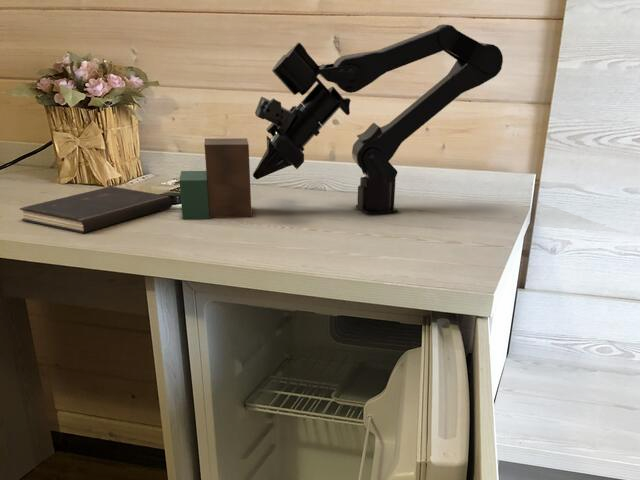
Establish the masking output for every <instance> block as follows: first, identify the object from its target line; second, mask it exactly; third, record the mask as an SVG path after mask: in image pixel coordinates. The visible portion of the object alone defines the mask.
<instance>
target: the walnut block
mask: <svg viewBox="0 0 640 480" xmlns="http://www.w3.org/2000/svg"><path fill="white" fill-rule="evenodd" d="M203 143H204V144H203V145H204V158H205V159H204V160H205V171H206V174H207V188H208V203H209V217H210V218H243V217H244V218H249V217H250V218H251V217H253V216H252V193H251V170H250V169H251V168H250V166H251V165H250V145H249V141H248V138H245V137H244V138H241V137H240V138H237V137H235V138H232V137H231V138H204V142H203Z"/></svg>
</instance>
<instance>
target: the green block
mask: <svg viewBox="0 0 640 480" xmlns="http://www.w3.org/2000/svg"><path fill="white" fill-rule="evenodd" d="M178 183H179V192H180V193H179V194H180V204H181V205H180V206H181V216H182V220H203V219H204V220H209V219H210V218H211V217H209V203H208V188H207V174H206V170H180V175H179V180H178Z"/></svg>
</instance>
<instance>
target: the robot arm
mask: <svg viewBox="0 0 640 480" xmlns="http://www.w3.org/2000/svg"><path fill="white" fill-rule="evenodd" d="M441 52H445V53H446V54H447V55H449V56H450V57H452V58H453V59H454V60H456V61H455V63H454V64H453V65H452V66H451V67H452V68H450V70H449V72H448V73H447V74H446V75H445V76H444V77H443V78H441V80H439V81H438V82H437V83H436V84H434V86H432V87H430V89H429V90H427V91H426V92H425V93H424V94H423V95H421V96H420V97H419V98H417V99H416V100H415V101H414V102H413V103H412V104H410V105H409V106H408V107H406V109H404V110H403V111H402V112H401V113H399V114H398V115H397V116H396V117H395V118H393V119H392V120H391V121H390V122H389V123H387V124H385V125H383V126H379V125H378V124H376V122H372V123H371V124H370V125H369V126H368V127H367V129H366V130H364V132H362V133H359V134H357V135H356V137H357V138H358V139H357V140H356V141H355V142H354V143H353V145H352V148H351V149H352V150H351V156H352V159H353V161H354V163H355V164H356V165H357V166H358V168H360V169H361V172H362V174H363V175H364V176H361V177H359V179H360V180H359V181H360V183H359V185H358V186H357V204H356V205H355V208H356V209H358V210H360V211H362V212H363V213H365V214H366V215H379V214H391V213H398V209H397V207H395V195H396V181H397V180H396V179H397V176H398V170H397V169H396V168H395V167H394V166H393V165H392V164H391V163H390V160H391V159H392V158H393V157H394V155H395V154H396V152H397V151H398V149H399V148H400V147H401V145H402V143H403V142H405V141H406V140H407V139H408V138H410V136H412V135H413V134H414V133H416V132H417V131H418V130H419V129H420V128H422V127H423V126H424V125H425V124H426V123H428V122H429V121H430V120H431V119H432V118H434V117H436V115H438V114H439V113H440V112H441V111H442V110H443V109H445V108H446V107H447V106H448V105H450V104H451V103H452V102H453V101H454V100H456V99H457V98H458V97H459V96H461V95H462V94H464V93H466V92H468V91H470V90H472V89H475V88H478V87H480V86H481V85H483V84H485V83H487V82H488V81H490V80H492V79H494V78H496V77H497V76H498V74H499V73H500V72H501V71H502V67H503V63H504V62H503V61H504V58H503V57H504V56H503V52H502V50H500V48H499V47H498V46H497V45H495V44H491V43H484V42H480V41H477V40H475V39H474V38H472V37H470V36H468V35H467V34H464V33H463V32H461V31H460V30H458V29H457V28H456V27H455V26H454V25H450V24H444V23H443V24H438V25H437V26H436V27H434V28H432V29H430V30H427V31H425V32H422V33H419V34H417V35H414V36H412V37H411V36H410V37H409V38H406V39H403V40H401V41H399V42H396V43H393V44H391V45H388V46H385V47H382V48H380V49H377V50H372V51H363V52H357V53H351V54H345V55H342V56H340V57H338V58H337V59H335V60H334V62H333V63H327V64H324V63H322V64H321V65H320V64H319V65H318V63H317V62H316V61H315V60H314V59H313V57H312V56H310V54H309V53H308V52H307V50H306V48H305V46H304V45H303V44H301V42H297V43H295V45H294V46H293V47H292V48H290V50H289V51H288V52H287V53H286V54H283V55H282V56H281V57H280V59H279V60H278V61H277V62H276V64H275V65H274V66H273V68H272V70H271V71H272V73H273V74H274V75H275V76H276V77H277V78H278V79H279V80H280V82H281V83H282V84H283V85H284V86H285V87H286V88H287V89H288V91H289V92H290V93H292V95H293V96H296V95H297V94H300V95H301V96H304V95H305V94H307V95H306V96H305V97H304V98H303V100H301V101H300V103H299V104H298V105H292V106H291V108H289V109H287V108H285V107H284V106H282V102H281V101H279V100H277V99H275V98H272V99H269V98H266V97H264V96H260V99H259V102H258V104H257V106H256V109H255V112H254V114H255V116H256V117H257V118H259V119H261V120H266V121H267V122H270V123H269V125H268V126H267V128H266V132H267V133H268V134H270V135H271V137H269V136H268V135H266V150H265V152H264V153H263V156H262V157H261V159H260V160H259V163H258V164H257V166H256V168H255V170H254V171H253V173H252V177H253V179H255V180H259V179H262V178H264V177H266V176H269V175H271V174H274V173H276V172H278V171H281V170H284V169H286V168H287V167H292V166H293V167H294V168H295V169H296V170H298V169H299V168H300V167H301V166H302V165H303V164H304V163H305V153H304V151H305V148H304V147H305V146H306V145H307V144H308V143H310V141H311V140H312V139H313V138H314V137H318V136H319V134H320V130H321V129H322V128H323V127H324V126H325V125H326V123H327V122H329V120H330V119H331V118H332V117H333V116H334V115H335V114H336V113H337V111H339V109H340V110H341V111H342V112H343V113H344V114H345V115H346V116H349V115H350V114H351V111H350V104H351V101H352V100H351V99H350V98H349V97H343V96H342V95H341V94H340V93H339V91H338V90H337V89H336V88H335V87H334V86H330V87H329V88H327V87H326V85H325V84H324V83H323V82H322V81H321V80H320V78H319V77H318V76H320V77H321V78H322V79H323V80H325V81H326V82H329V83H333V84H335V85H336V87H337V88H339V89H340V90H342V91H344V92H345V93H349V94H353V93H357V92H359V91H361V90H363V88H365V87H367V86H368V85H370V84H372V83H373V82H375V81H376V80H378V79H379V78H380V77H381V76H383V75H385V74H386V73H388V72H391V71H394V70H396V69H399V68H401V67H404V66H408V65H410V64H413V63H415V62H417V61H419V60H423V59H426V58H428V57H431V56H433V55H436V54H438V53H441ZM315 83H317V84H316V85H315ZM314 85H315V86H314ZM313 86H314V87H313ZM311 88H312V89H311ZM310 90H311V91H310ZM309 91H310V92H309ZM308 92H309V93H308Z"/></svg>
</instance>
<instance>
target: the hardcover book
mask: <svg viewBox="0 0 640 480" xmlns="http://www.w3.org/2000/svg"><path fill="white" fill-rule="evenodd" d="M172 204H173V203H172V198H171V197H170V196H169V195H166V194H159V193H154V192H147V191H141V190H136V189H129V188H123V187H117V186H112V185H111V186H106V187H102V188H97V189H94V190H89V191H85V192H82V193H77V194H73V195H69V196H64V197H59V198H55V199H52V200H48V201H43V202H40V203H35V204H31V205H27V206H22V207H19V211H22V216H23V218H21V221H22V222H26V223H31V224H35V225H42V226H45V227H46V226H47V227H51V228H55V229H61V230H66V231H69V232H75V233H78V234H79V233H80V234H85V233H88V232H89V233H90V232H93V231H96V230H99V229H103V228H106V227H109V226H112V225H113V226H114V225H116V224H119V223H124V222H126V221H129V220H133V219H136V218H140V217H143V216H147V215H151V214H154V213H157V212H161V211H164V210H168V209H171V208H172V206H173V205H172Z"/></svg>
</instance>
